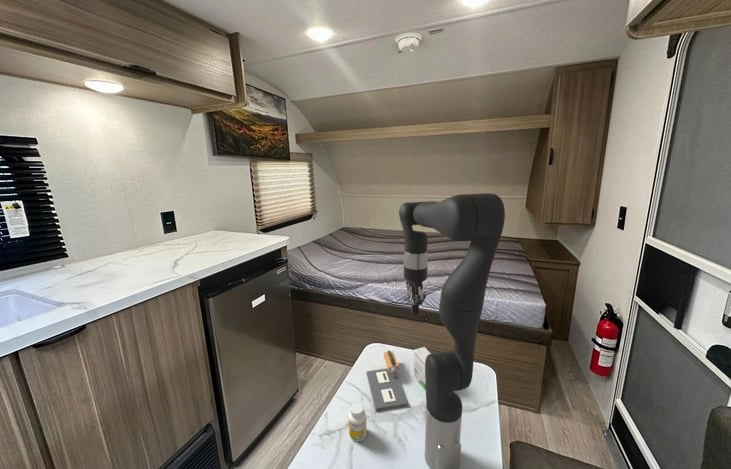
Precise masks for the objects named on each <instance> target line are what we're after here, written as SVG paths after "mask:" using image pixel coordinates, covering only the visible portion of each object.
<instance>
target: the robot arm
mask: <svg viewBox="0 0 731 469" xmlns="http://www.w3.org/2000/svg"><path fill="white" fill-rule="evenodd" d="M398 216H399V220H400V223H401V227H402V231H403V236H404V237H403V238H404V254H403V279H405V280H406V281H405V284H406V289H407V294H408V298H409V301H410V312H411V314H412V316H414V315H419V313H420V306H422V305H423V304H424V301H425V300H426V296H427V295H426V294H425V293H423V290H424V285H423V282H425V281H426V280H427V279H428V268H429V267H428V265H429V264H428V263H429V261H428V260H429V258H428V257H429V256H428V234H426V233H425V232H423V231H419V230H414V228H413V226H421V227H422V228H428V229H433V230H435V231H437V232H438V233H440V234H441V235H443V236H444V237H446V238H447V239H450V240H452V241H454V242H455V241H456V242H470V243H469V247H468V249H467V252H466V254H465V256H464V257H463V259H462V260H461V261H460V263H459V264H458V265H457V266H456V267H455V268H454V269H453V271H452V272H451V273H450V275H449V276H448V277H447V279H446V280H445V281H444V283H443V285H442V287H441V291H440V292H441V293H440V298H439V307H438V314H439V318H440V320H441V322H442V324H443V326H444V327H445V329H446V330H447V332H448V333H449V335H450V336H451V337H452V339H453V341H454V344H453V346H454V347H453V349H452V350H448V351H441V352H433V353H431V354H429V355H428V356H427V357H426V361H425V380H426V390H425V400H426V402H425V404H426V405H425V428H424V429H425V431H424V432H425V435H424V438H425V439H424V458H425V462H426V464H427V466H428V467H429V468H430V469H460V467H461V466H460V465H461V453H462V444H461V436H462V435H461V434H462V432H461V431H462V418H463V417H462V415H463V402H462V399H461V398H460V396H459V395H458V393H457V392H458V391H463V390H466V389H468V388H469V387H470V385H471V383H472V380H473V374H474V373H473V372H474V361H475V360H474V357H475V348H476V341H477V340H476V339H477V337H478V336H477V335H478V331H479V330H478V329H479V324H480V321H481V318H482V312H483V307H484V304H485V296H486V291H487V290H486V289H487V285H488V281H489V276H490V272H491V268H492V265H493V262H494V259H495V257H496V256H495V255H496V252H497V249H498V247H499V243H500V241H501V237H502V235H503V230H504V225H505V218H506V209H505V204H504V202H503V199H502V198H501V197H500V196H499V195H498V194H495V193H486V192H485V193H467V194H456V195H453V196H451V197H447V198H446V199H442V200H441V201H412V202H411V201H410V202H404V203H402V204H401V206H400V207H399V210H398Z"/></svg>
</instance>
